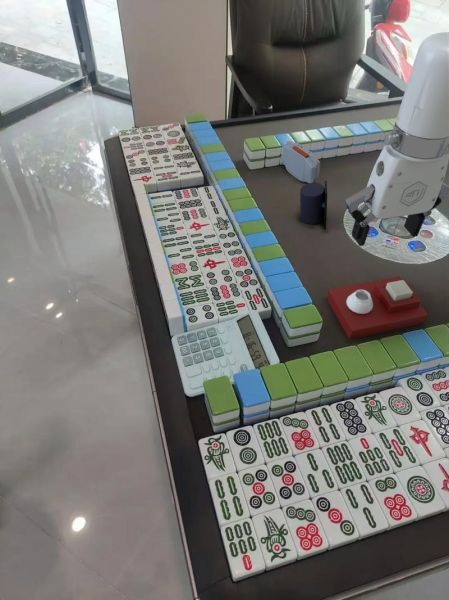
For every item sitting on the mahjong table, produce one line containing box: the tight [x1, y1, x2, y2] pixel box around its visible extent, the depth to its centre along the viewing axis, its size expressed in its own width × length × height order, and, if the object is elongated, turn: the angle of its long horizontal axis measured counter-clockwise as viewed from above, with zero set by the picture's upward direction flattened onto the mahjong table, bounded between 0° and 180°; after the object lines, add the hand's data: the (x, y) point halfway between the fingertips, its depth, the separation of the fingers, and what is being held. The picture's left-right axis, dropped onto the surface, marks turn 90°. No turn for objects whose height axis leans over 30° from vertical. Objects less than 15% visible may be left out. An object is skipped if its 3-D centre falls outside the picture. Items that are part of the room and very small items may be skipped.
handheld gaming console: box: [280, 140, 321, 184], centre depth 118 cm, size 14×3×8 cm, turn 32°
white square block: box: [385, 280, 413, 302], centre depth 85 cm, size 4×4×2 cm
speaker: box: [299, 180, 328, 230], centre depth 104 cm, size 8×6×10 cm
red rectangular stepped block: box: [326, 275, 429, 340], centre depth 86 cm, size 16×11×4 cm
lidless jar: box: [346, 290, 373, 314], centre depth 84 cm, size 5×3×5 cm
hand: (384, 236), depth 72 cm, fingers open, 9 cm apart
